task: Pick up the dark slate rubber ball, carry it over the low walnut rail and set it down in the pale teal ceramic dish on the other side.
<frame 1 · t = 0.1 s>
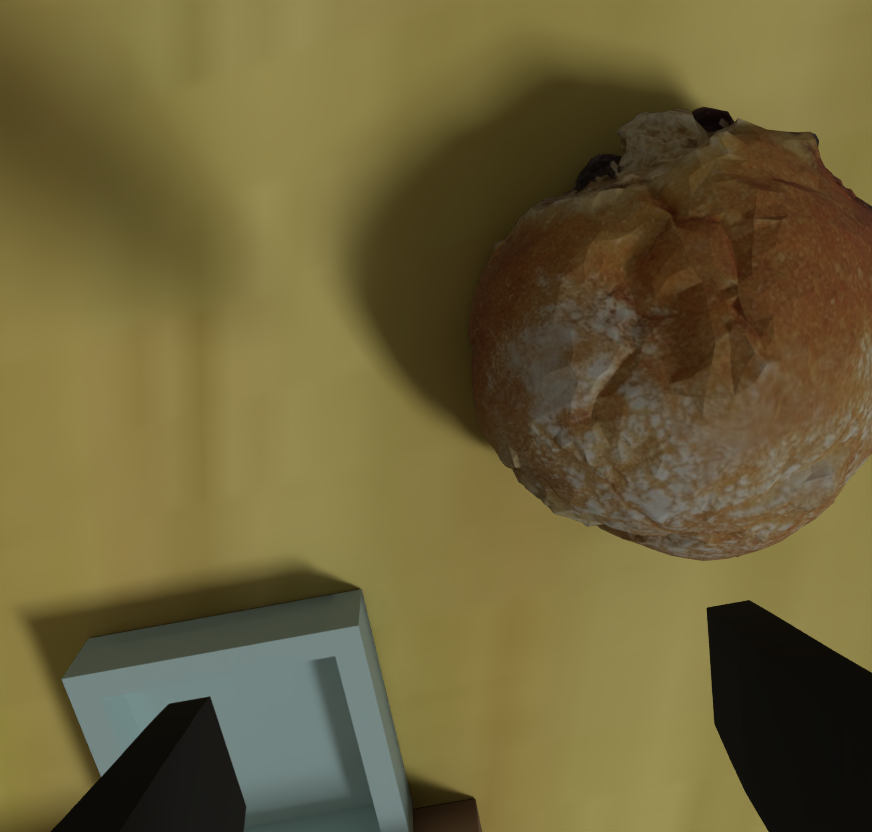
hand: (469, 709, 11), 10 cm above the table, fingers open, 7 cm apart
dish: (259, 725, 23), on the table
bread roll: (649, 326, 20), on the table
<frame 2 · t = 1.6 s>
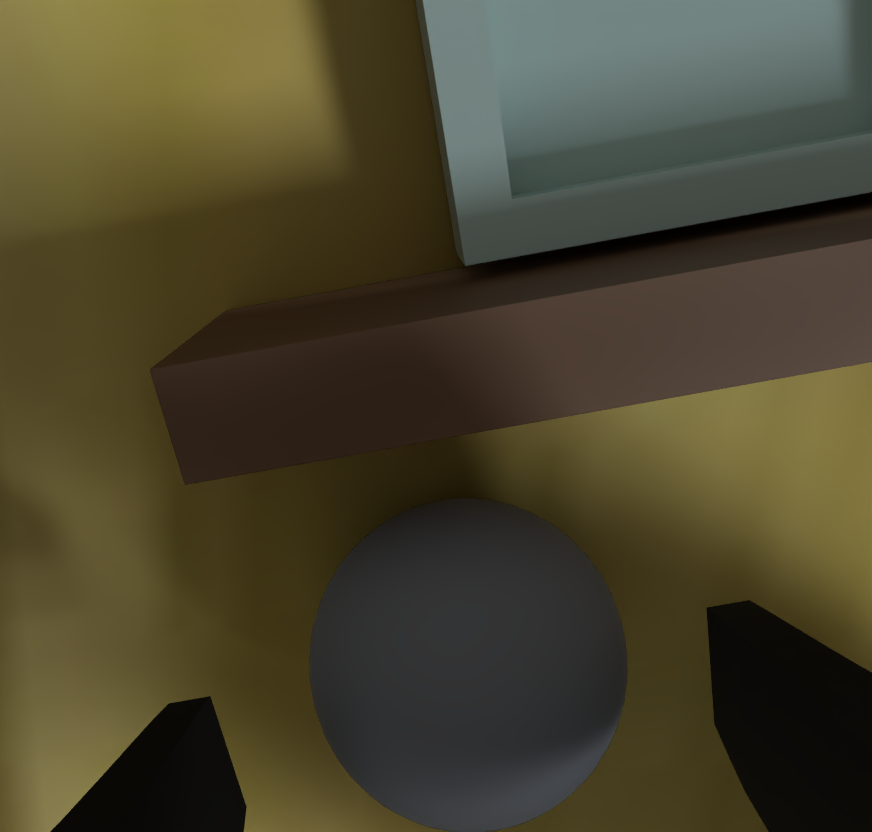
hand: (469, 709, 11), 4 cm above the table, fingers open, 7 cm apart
ball: (456, 575, 14), on the table
rail: (638, 280, 13), on the table
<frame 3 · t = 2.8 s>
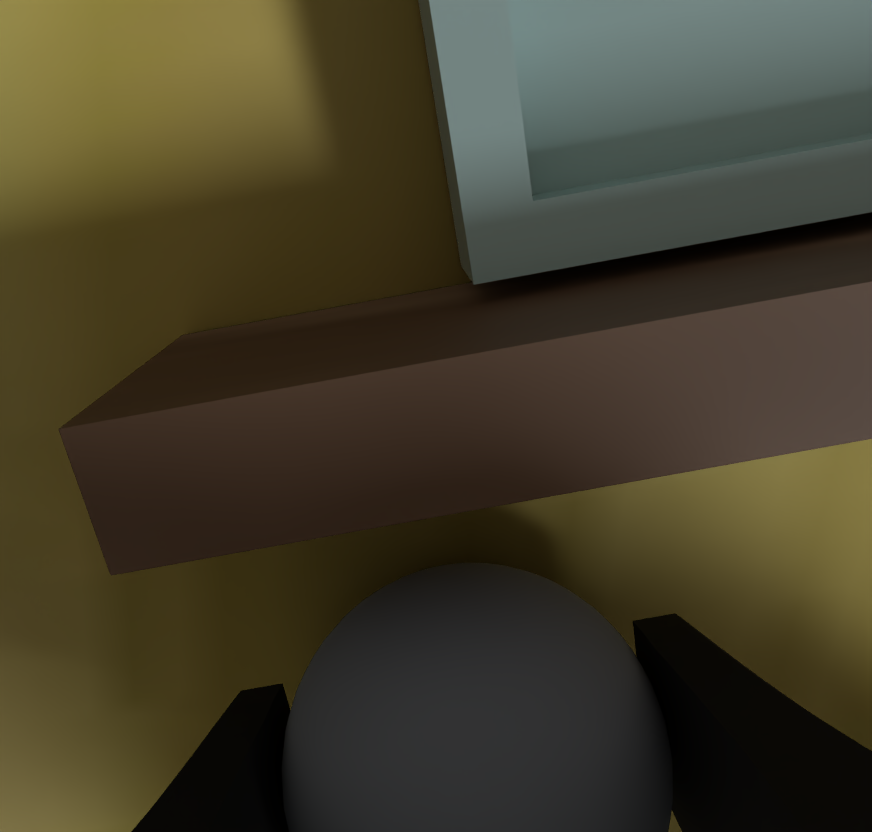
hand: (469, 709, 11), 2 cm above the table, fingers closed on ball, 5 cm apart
ball: (459, 642, 12), on the table, touching gripper
rail: (680, 298, 11), on the table
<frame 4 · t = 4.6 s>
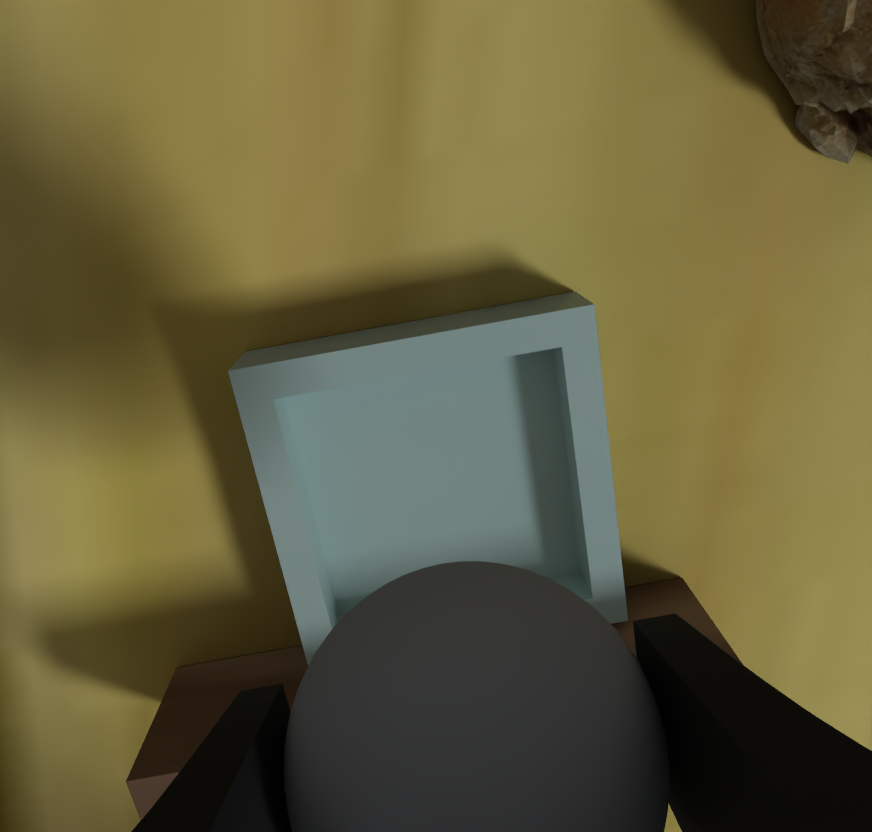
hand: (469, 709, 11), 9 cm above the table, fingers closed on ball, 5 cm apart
ball: (452, 641, 12), point 7 cm above the table, touching gripper
dish: (438, 474, 19), on the table
rail: (433, 645, 21), on the table
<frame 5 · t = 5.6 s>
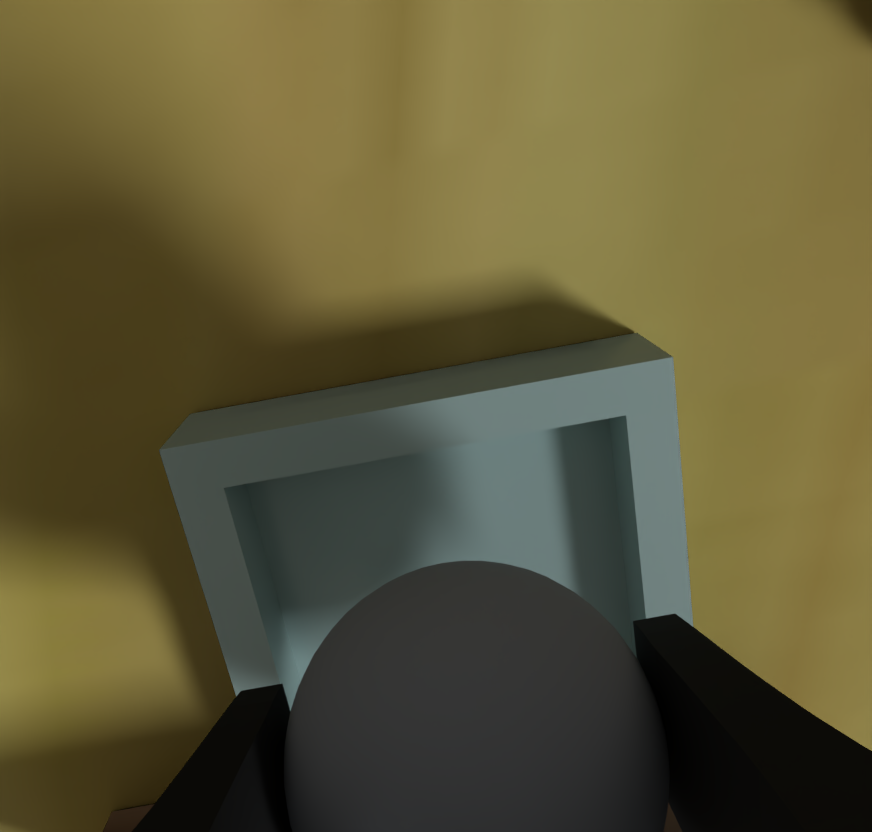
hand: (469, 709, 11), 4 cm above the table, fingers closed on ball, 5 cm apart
ball: (452, 640, 12), point 2 cm above the table, touching gripper
dish: (450, 570, 14), on the table
rail: (443, 781, 16), on the table
when the fingers open (4 cm above the table, at t = 6.3 s): ball drops 2 cm, resting on dish.
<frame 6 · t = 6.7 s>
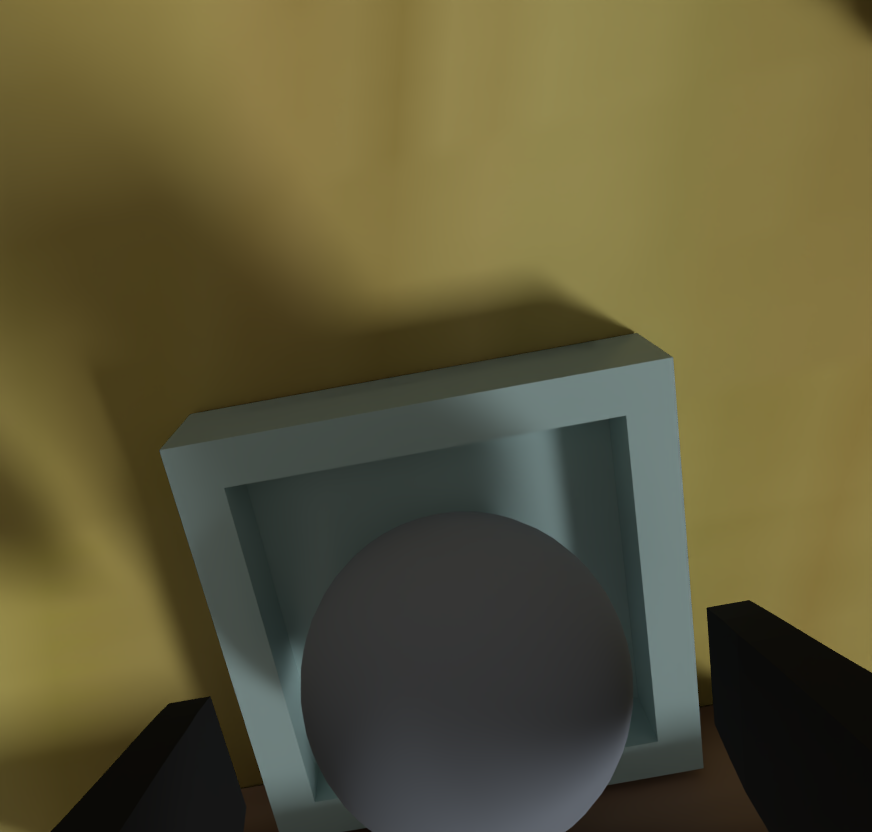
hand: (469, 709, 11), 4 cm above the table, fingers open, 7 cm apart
ball: (446, 590, 14), point 1 cm above the table, touching dish
dish: (450, 570, 14), on the table
rail: (443, 781, 16), on the table
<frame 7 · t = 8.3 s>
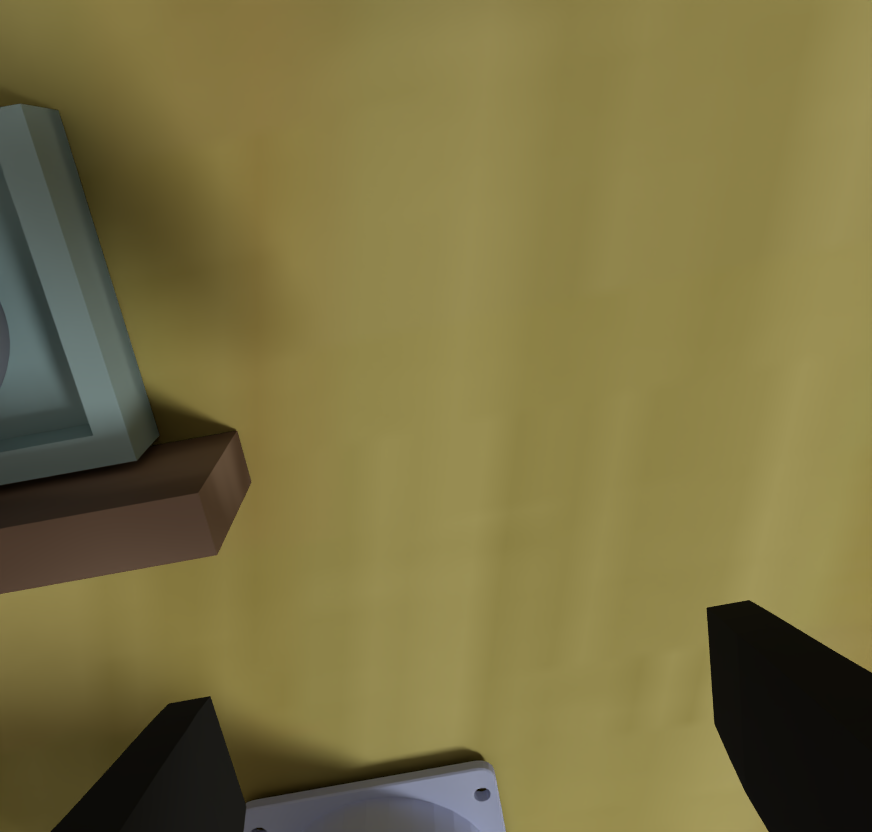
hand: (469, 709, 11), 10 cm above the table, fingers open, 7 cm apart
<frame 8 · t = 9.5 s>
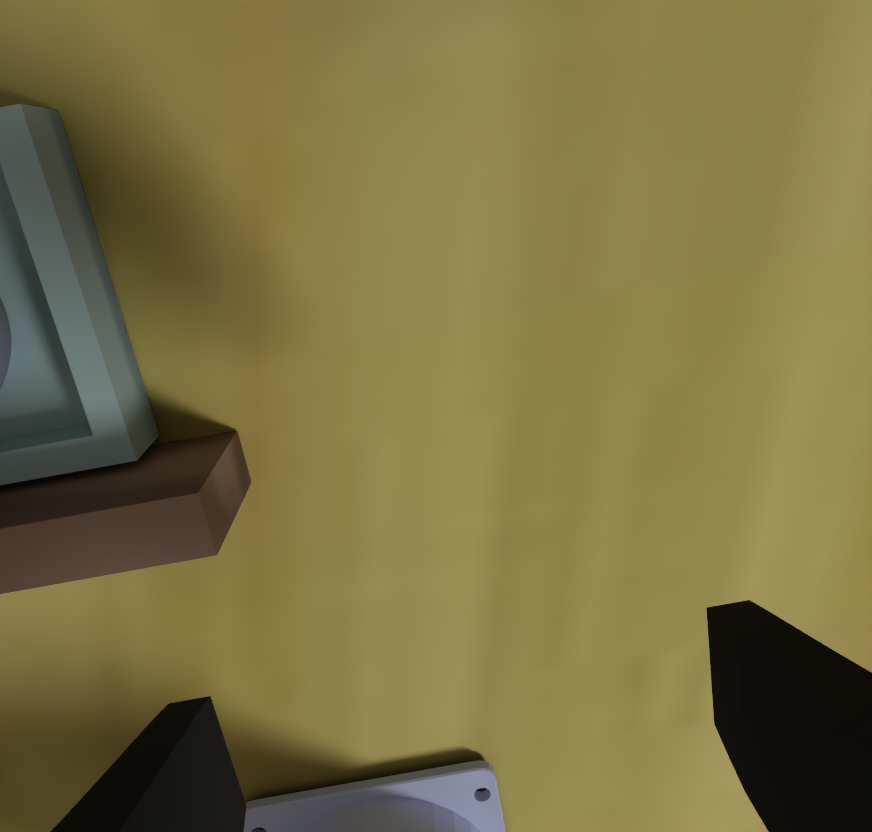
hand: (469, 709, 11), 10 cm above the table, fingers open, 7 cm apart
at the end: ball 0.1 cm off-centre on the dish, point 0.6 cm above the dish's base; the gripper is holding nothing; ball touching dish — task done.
